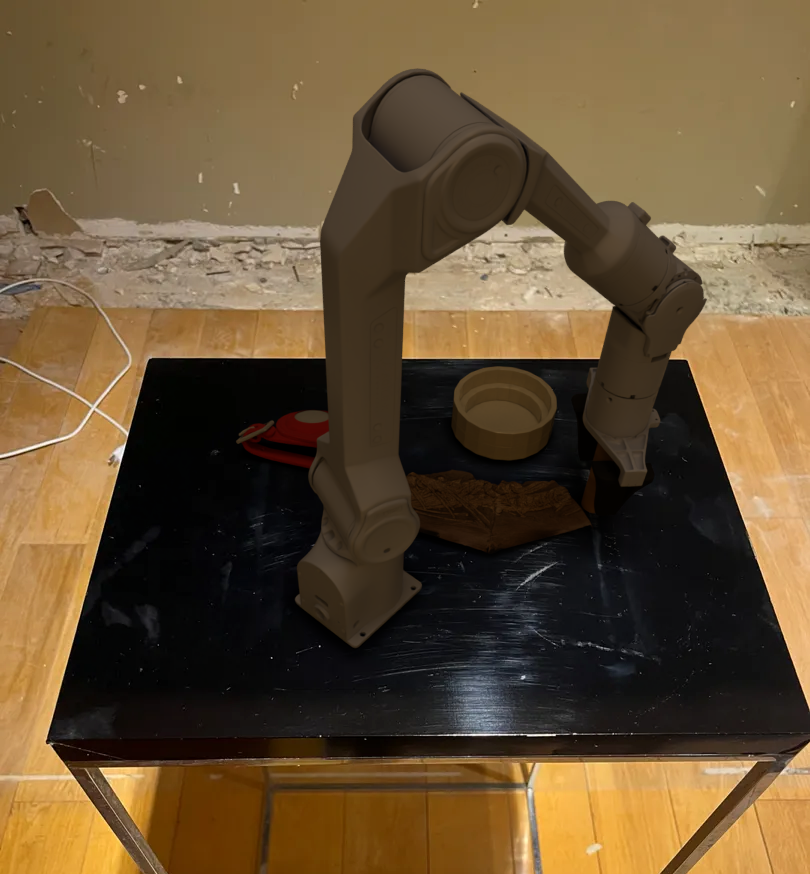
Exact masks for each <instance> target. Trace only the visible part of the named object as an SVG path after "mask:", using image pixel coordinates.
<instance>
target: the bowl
mask: <svg viewBox="0 0 810 874" xmlns="http://www.w3.org/2000/svg"><path fill="white" fill-rule="evenodd" d="M557 409H558V403H557V396H556V394H555V391H554V390H553V389H552V387H551V386H550V385H549V384H548V383H547V382H546V381H545V380H544V379H543V378H542V377H540V376H537V375H535V374H534V373H532V372H530V371H528V370H524V369H520V368H518V367H514V366H513V367H512V366H500V365H499V366H497V365H496V366H489V367H488V366H487V367H483V368H480V369H476V370H475V371H471V372H470V373H468V374H467V375H466V376H464V377H463V378H461V379H460V380H459V382H458V383H457V385H456V386H455V388H454V391H453V401H452V411H451V412H452V413H451V425H450V426H451V430H452V432H453V434H454V437H455V438H456V440H458V442H460V444H461V445H462V446H463V447H464V448H466V449H467V450H469V451H470V452H472V453H474V454H476V455H478V456H481V457H484V458H488V459H491V460H498V461H499V460H500V461H517V460H521V459H522V460H523V459H526V458H528V457H530V456H533V455H536V454H537V453H539V452H540V451H541V450H543V449H544V447H545V446H547V444H548V442H549V440H550V438H551V435H552V433H553V428H554V423H555V419H556V415H557Z"/></svg>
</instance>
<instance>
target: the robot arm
mask: <svg viewBox="0 0 810 874" xmlns="http://www.w3.org/2000/svg"><path fill="white" fill-rule="evenodd" d="M351 142H352V143H351V144H352V145H351V146H352V147H351V152H350V155H349V157H348V159H347V163H346V165H345V168H344V170H343V173H342V175H341V177H340V180H339V183H338V185H337V187H336V190H335V193H334V195H333V198H332V201H331V203H330V205H329V208H328V210H327V213H326V216H325V218H324V220H323V223H322V226H321V229H320V236H319V237H320V238H319V250H320V251H319V252H320V268H321V271H320V272H321V290H322V291H321V292H322V313H323V333H324V334H323V335H324V352H325V353H324V354H325V376H326V377H325V378H326V393H327V395H326V396H327V411H328V418H329V431H328V432H327V433H325V434H323V435H322V436H320V437H319V438H317V448H316V454H315V456H314V457H315V459H314V461H313V463H312V465H311V467H310V469H308V476H307V477H308V483H309V486H310V488H311V489H312V491H313V492H314V493H315V494H316V495H317V497H318V498H319V501H320V502H321V503H322V505H323V511H322V517H321V527H320V528H321V529H320V532H319V535H318V538H317V539H316V541H315V543H314V544H313V546H312V548H310V550H309V551H308V553H307V554H306V555H305V556H304V557H302V558H301V559H300V560H299V561H298V563H297V566H296V573H297V583H298V589H299V590H298V591H299V592H298V594H297V595H296V596H295V597H294V602H295V604H296V605H297V606H298V607H299V608H301V609H302V610H304V611H305V612H306V613H307V614H309V615H310V616H311V617H312V618H314V619H315V620H316V621H318V622H319V623H320V624H322V625H323V626H324V627H325V628H327V629H328V630H329V631H331V633H333V634H334V635H336V636H337V637H338V638H340V639H341V640H342V641H343V642H345V643H346V644H347V645H348V646H350V647H351V648H354V649H357V648H359V647H360V646H362V644H364V643H365V642H366V641H368V639H369V638H370V637H372V635H373V634H374V633H376V632H377V631H378V630H379V629H380V628H381V627H382V626H383V625H385V623H387V622H388V620H390V619H391V618H392V617H393V616H394V615H396V613H397V612H398V611H399V610H401V609H402V608H403V607H404V606H405V605H406V604H407V603H409V601H410V600H412V599H413V598H414V597H415V596H416V595H417V594H418V593H419V592H420V591H421V590H422V588H423V584H422V582H421V581H419V580H418V579H416V578H415V577H414V576H412V575H411V574H410V573H408V572H407V571H405V570H404V560H405V559H404V557H405V551H407V550H408V549H409V548H410V546H411V545H412V544H413V542H414V541H415V539H416V537H417V536H418V534H419V533H420V532H419V528H420V519H419V517H418V514H417V513H416V512H415V510H414V509H413V508H412V506H411V491H410V488H409V485H408V482H407V479H406V476H407V475H406V473H405V470H404V468H403V464H402V462H401V459H400V455H399V453H400V452H399V451H400V429H401V427H400V426H401V400H402V376H403V375H402V373H403V352H404V351H403V348H404V324H405V323H404V322H405V297H406V295H405V294H406V293H405V292H406V278H407V275H408V274H409V273H411V274H413V273H414V274H419V273H420V274H421V273H422V272H423V271H425V270H427V269H428V268H431V267H432V266H433V265H435V264H436V263H438V262H440V261H442V260H443V259H445V258H447V257H449V256H450V255H452V254H453V253H455V252H457V251H458V250H459V249H462V248H464V246H467V245H468V244H470V243H471V242H473V241H474V240H476V239H478V238H479V237H481V236H483V235H484V234H486V233H488V232H489V231H490V230H491V229H493V228H494V227H496V226H497V225H498V224H499V223H500V222H502V223H504V224H505V225H506V226H511V225H514V224H515V223H516V222H517V221H518V219H519V218H520V217H521V216H522V214H523V213H524V212H525V211H526V212H527V213H528V214H529V215H531V216H532V217H533V218H534V219H536V220H537V221H539V222H540V223H541V224H542V225H544V226H545V227H547V228H548V230H550V231H551V232H553V234H555V235H557V237H559V238H560V239H562V240H563V241H564V243H563V244H564V245H563V258H564V261H565V265H566V266H567V268H568V269H569V270H570V271H571V272H572V273H573V274H574V275H575V276H576V277H578V278H579V279H581V280H582V281H583V282H585V284H587V285H588V286H590V287H591V288H592V289H593V290H594V291H596V292H597V293H598V294H599V295H600V296H602V297H603V298H604V299H606V301H608V302H609V303H610V304H612V305H613V306H612V308H611V313H610V317H609V320H608V324H607V328H606V332H605V335H604V339H603V344H602V348H601V352H600V355H599V360H598V364H597V367H589V371H588V375H587V378H586V386H587V388H588V390H587V391H586V393H576V394H574V395H573V396H571V399H570V400H571V404H572V408H573V411H574V413H575V418H576V425H577V454H578V459H579V461H580V462H587V461H588V462H590V468H591V467H592V470H593V473H594V477H595V481H596V491H595V498H594V510H595V513H594V514H595V516H597V517H602V516H603V517H604V516H616V515H617V514H618V513H619V511H620V510H621V509H622V508H623V506H624V505H625V504H626V503H627V502H628V500H629V499H630V498H631V497H632V496H633V495H634V494H636V493H637V492H638V491H640V490H641V489H643V488H644V487H646V486H648V485H650V484H652V483H653V481H654V479H655V476H656V475H655V471H654V468H653V465H652V463H651V462H646V453H647V448H648V447H647V446H648V438H649V433H650V429H653V428H655V429H656V428H658V427H659V426H660V423H661V418H660V415H659V413H658V411H657V409H655V408H654V406H655V403H656V399H657V396H658V393H659V390H660V389H661V388H660V387H661V385H662V382H663V379H664V376H665V373H666V371H667V367H668V365H669V361H670V358H671V355H672V353H673V352H674V351H676V350H677V349H678V347H679V345H681V344H682V342H683V338H684V336H685V333H686V332H687V330H688V329H689V327H690V326H691V325H692V324H693V323H694V322H695V320H696V319H697V318H698V317H699V316H700V314H701V312H702V311H703V309H704V307H705V305H706V303H707V301H708V299H707V298H706V297H705V292H704V288H703V286H702V285H703V280H702V277H701V275H700V274H699V273H698V272H696V271H695V270H694V269H693V268H691V266H689V265H688V264H687V263H685V261H682V260H681V259H680V258H678V257H677V256H676V255H675V254H674V253H675V251H676V250H677V246H676V244H675V243H674V242H673V241H672V240H670V239H669V238H668V237H667V236H666V235H660V236H657V235H656V234H655V232H653V230H651V228H650V227H649V226H647V225H648V224H649V223H650V221H651V220H652V217H651V215H650V214H649V213H648V212H647V211H646V210H645V209H643V208H642V207H641V206H639V205H638V204H637V203H636V202H635V201H631V202H630V203H629V204H628V205H626V204H625V203H623V202H621V201H618V200H604V201H600V202H598V203H596V202H595V200H594V199H593V198H592V197H591V196H590V195H589V194H588V193H587V192H586V191H585V190H584V189H583V188H582V186H580V185H579V184H578V182H577V181H575V179H574V178H573V177H572V176H571V174H570V173H568V172H567V171H566V170H565V168H564V167H563V166H562V165H560V163H559V162H558V161H557V160H556V159H555V158H554V157H553V155H551V153H550V152H548V151H547V150H546V149H544V148H543V147H542V146H541V145H539V144H538V143H537V142H536V141H534V140H533V139H532V138H530V137H529V136H528V135H527V134H526V133H524V132H523V131H522V130H520V129H519V128H518V127H516V126H515V125H513V124H511V123H510V122H509V121H507V120H506V119H504V118H503V117H501V116H499V115H498V114H497V113H495V112H493V111H492V110H491V109H490V108H488V107H486V106H485V105H484V104H482V103H480V102H478V101H477V100H476V99H474V98H472V97H471V96H470V95H467V94H466V93H464V92H462V91H461V92H460V93H459V94H458V93H457V92H456V91H455V90H453V89H452V87H451V85H449V84H448V82H447V81H446V80H445V79H444V78H443V77H442V76H441V75H440V74H438V73H436V72H435V71H432V70H429V69H426V68H419V67H418V68H410V69H406V70H402V71H400V72H399V73H396V74H395V75H393V76H391V77H390V78H388V80H387V81H385V82H384V83H383V84H382V85H381V86H380V87H379V88H378V89H377V91H376V92H375V93H374V94H372V96H370V98H369V99H368V100H367V101H366V102H365V103H364V104H363V105H362V106H361V107H360V108H359V109H358V110H357V111H356V112H355V113H354V114H353V116H352V141H351ZM598 443H599V444H600V445H601V446H602V448H603V449H604V450H605V451H606V452H607V453H608V455H609V456H610V457H611V458H612V459H613V461H612V460H608V461H593V458H594V455H595V451H596V447H597V444H598ZM362 635H364V636H362Z"/></svg>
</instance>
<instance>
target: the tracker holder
mask: <svg viewBox="0 0 810 874" xmlns="http://www.w3.org/2000/svg"><path fill="white" fill-rule="evenodd" d="M273 425H275V426H273ZM328 431H329V418H328V410H322V409H302V410H299V411H293V412H290V413H287V414H285V415H283V416H281V417H280V418H278V419H277V421H276V423H275V421H274V420H269V421H268V422H265V423H253V424H250V425H249V426H248V427H247V428H245V429H243V430H242V431H240V432H239V433H238V436H239V438H238V439H237V440H236V441H235V442H236V444H238V445H239V444H242V446H243V448H244V450H245V451H247V452H248V453H250V454H252V455H253V456H257V457H260V458H263V459H265V460H266V459H267V460H270V461H274V462H278V463H283V464H286V465H287V464H288V465H292V466H296V467H301V468H304V469H305V468H306V469H308V470H310V467H311V465H312V463H313V461H314V459H315V457H316V456H310V455H306V454H302V453H301V454H300V453H296V452H290V451H285V450H281V449H277V448H271V447H268V446H265V445H262V444H259V442H261V441H262V439H264V440H266V441H268V442H269V441H270V442H274V443H278V444H279V443H280V444H284V445H285V444H287V445H293V446H302V447H309V448H316V449H317V438H319V437H320V436H322V435H323V434H325V433H327V432H328Z"/></svg>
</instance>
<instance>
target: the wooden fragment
mask: <svg viewBox="0 0 810 874" xmlns="http://www.w3.org/2000/svg"><path fill="white" fill-rule="evenodd" d="M405 476H406V479H407V482H408V485H409V488H410V491H411V506H412V508H413V509H414V510H415V512H416V513H417V514H418V517H419V519H420V528H419V532H418V533H423V534H426V535H430V536H433V537H436V538H439V539H442V540H445V541H449V542H452V543H456V544H460V545H463V546H466V547H470V548H472V549H476V550H478V551H479V550H480V551H483V552H484V553H487V554H489V555H490V554H491V555H492V554H495V553H497V552H499V551H501V550H505V549H508V548H511V547H515V546H520V545H523V544H527V543H531V542H534V541H538V540H541V539H546V538H551V537H553V536H557V535H560V534H561V535H562V534H566V533H569V532H572V531H575V530H578V529H581V528H584V527H587V526H590V527H591V528H592V530H594V527H593V524H592V522H591V520H590V519H589V518H588V516H587V515H586V513H585V512H584V509H583V507H582V505H579V503H577V501H576V500H575V499H574V498H573V497H572V496H571V494H570V493H569V489H567V488H566V487H565V486H563V485H559V484H558V483H557V482H556V481H555V480H554V479H551V480H550V481H546V480H542V481H541V480H529V481H524V482H523V483H520V482H517V481H506V480H504V479H503V480H501V481H500V483H499V484H496V483H491V482H489V481H488V480H483V479H476V478H475V476H474V475H473V474H472V473H471V472H468V471H464V470H455V469H451V470H447V471H440V472H433V473H431V474H430V473H426V474H418V473H416V472H414V471H411V472H410V473H408V474H407V475H405Z"/></svg>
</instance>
